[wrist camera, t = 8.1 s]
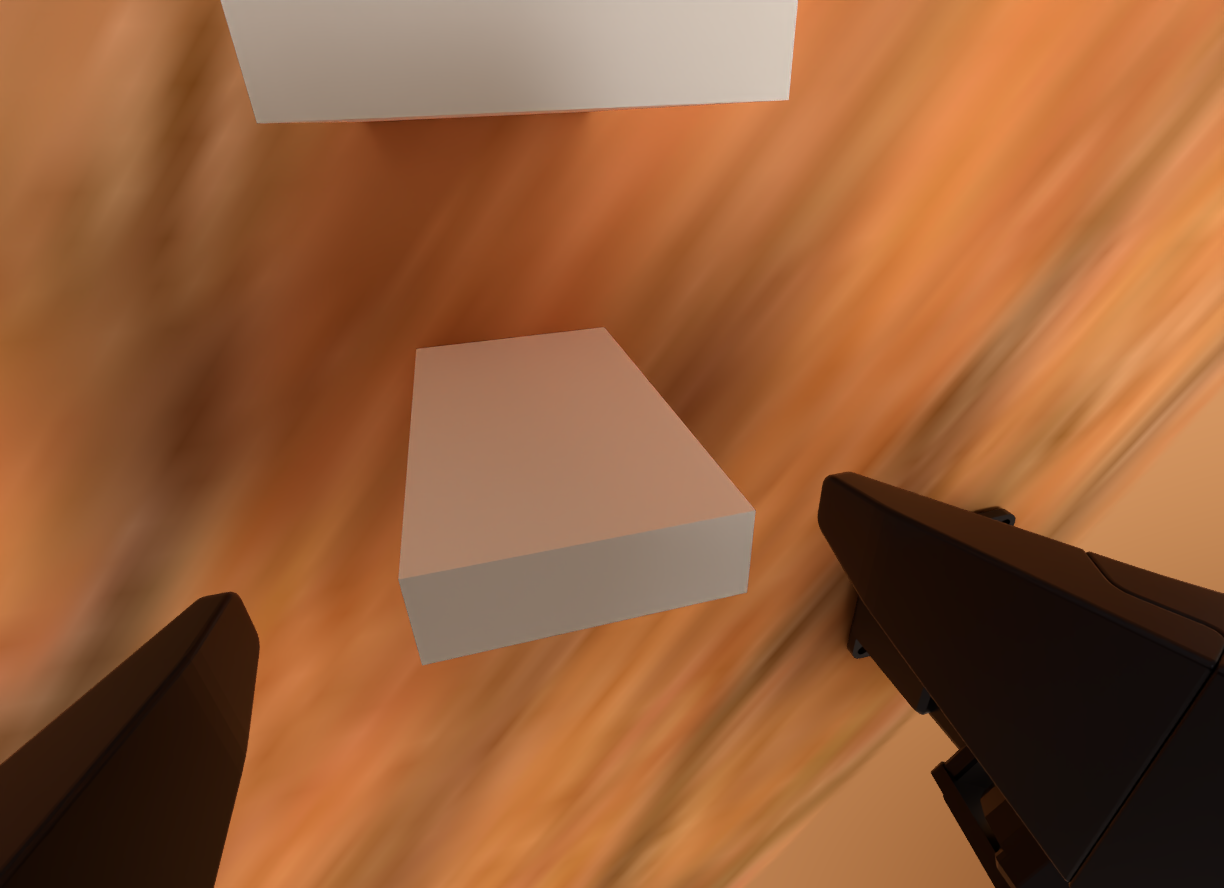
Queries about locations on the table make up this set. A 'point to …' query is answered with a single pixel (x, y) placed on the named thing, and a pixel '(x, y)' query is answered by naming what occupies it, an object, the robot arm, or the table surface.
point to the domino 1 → (505, 56)
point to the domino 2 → (555, 497)
